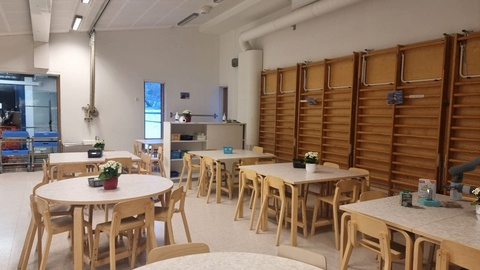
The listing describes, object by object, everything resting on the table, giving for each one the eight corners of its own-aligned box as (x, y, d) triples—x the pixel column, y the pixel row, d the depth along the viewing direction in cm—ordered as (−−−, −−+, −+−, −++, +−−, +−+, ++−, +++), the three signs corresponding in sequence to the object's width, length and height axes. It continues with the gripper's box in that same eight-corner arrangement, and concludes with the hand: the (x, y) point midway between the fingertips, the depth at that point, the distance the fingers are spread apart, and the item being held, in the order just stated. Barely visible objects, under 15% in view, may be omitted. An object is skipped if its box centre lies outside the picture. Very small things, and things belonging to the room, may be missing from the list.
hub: (434, 202, 306) (434, 198, 306) (440, 206, 292) (440, 202, 292) (418, 202, 308) (418, 197, 308) (424, 205, 295) (424, 201, 294)
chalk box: (409, 204, 298) (410, 188, 297) (412, 206, 289) (413, 190, 288) (398, 203, 300) (399, 187, 300) (401, 206, 291) (401, 189, 291)
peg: (430, 203, 302) (431, 189, 302) (432, 205, 298) (433, 190, 297) (425, 203, 303) (426, 188, 302) (427, 204, 299) (428, 189, 298)
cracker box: (417, 199, 320) (418, 178, 319) (419, 198, 324) (420, 178, 323) (433, 202, 309) (434, 180, 308) (435, 201, 313) (436, 180, 313)
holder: (454, 204, 301) (454, 201, 301) (461, 208, 289) (461, 204, 289) (440, 203, 303) (440, 200, 303) (446, 207, 291) (446, 203, 291)
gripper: (467, 183, 283) (446, 180, 296) (462, 185, 274) (440, 182, 287) (466, 192, 284) (445, 188, 296) (461, 194, 275) (440, 190, 287)
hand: (443, 185), depth 291 cm, fingers open, 8 cm apart
